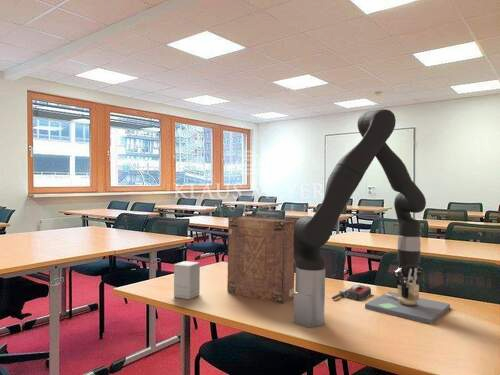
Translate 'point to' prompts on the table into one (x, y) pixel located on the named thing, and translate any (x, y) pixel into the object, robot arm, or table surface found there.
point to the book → (261, 258)
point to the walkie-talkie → (355, 292)
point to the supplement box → (186, 279)
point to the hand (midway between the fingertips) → (408, 296)
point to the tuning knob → (412, 295)
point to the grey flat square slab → (409, 308)
